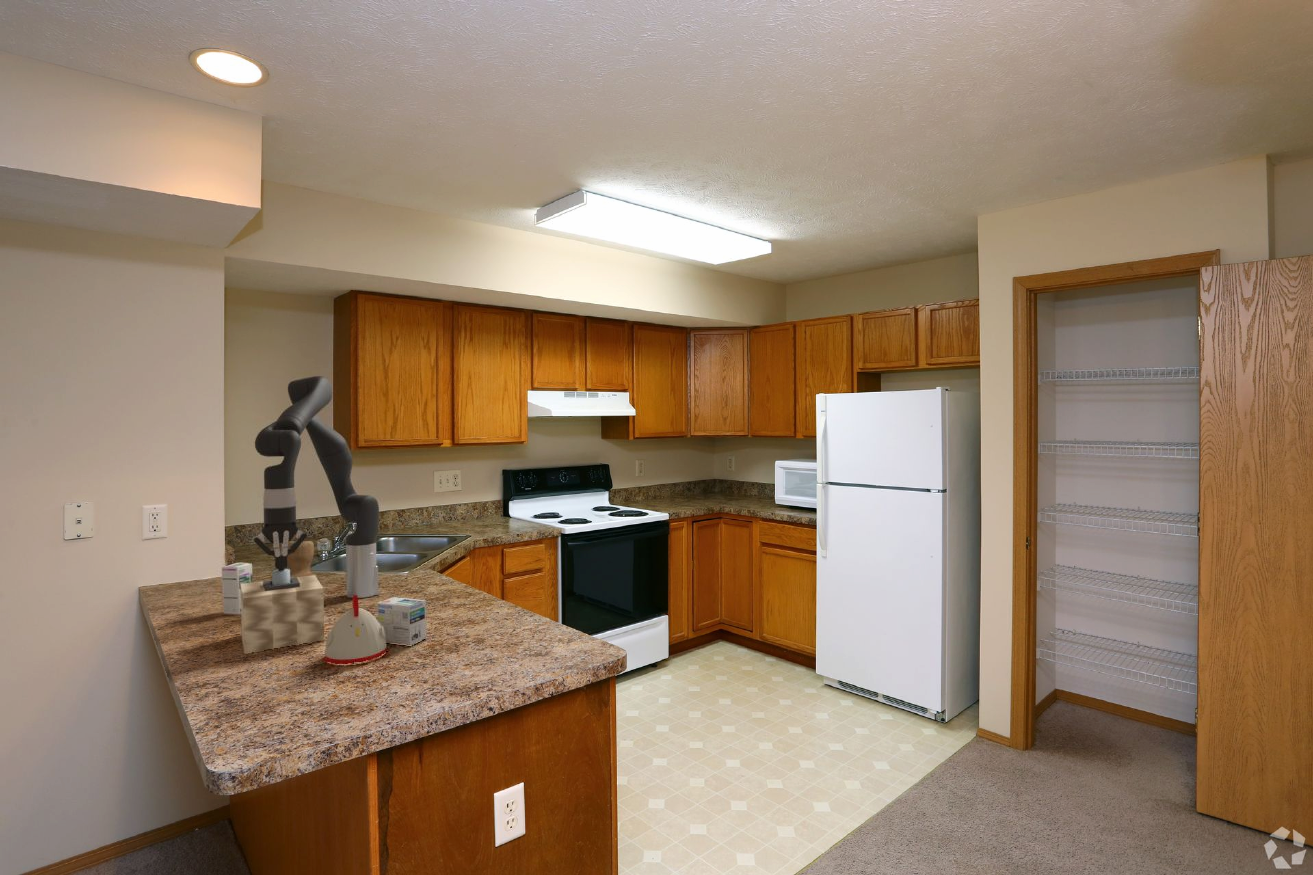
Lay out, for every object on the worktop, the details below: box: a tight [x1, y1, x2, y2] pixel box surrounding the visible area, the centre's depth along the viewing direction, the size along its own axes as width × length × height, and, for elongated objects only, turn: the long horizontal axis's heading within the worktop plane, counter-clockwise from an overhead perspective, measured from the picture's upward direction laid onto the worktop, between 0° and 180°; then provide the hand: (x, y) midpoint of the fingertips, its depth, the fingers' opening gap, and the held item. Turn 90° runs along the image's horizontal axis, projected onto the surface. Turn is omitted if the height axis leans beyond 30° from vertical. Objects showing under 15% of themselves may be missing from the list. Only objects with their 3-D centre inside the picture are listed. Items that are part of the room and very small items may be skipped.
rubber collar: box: [262, 577, 300, 591], centre depth 181 cm, size 8×8×1 cm
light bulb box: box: [376, 596, 427, 645], centre depth 178 cm, size 11×7×11 cm, turn 71°
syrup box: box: [221, 562, 254, 616], centre depth 206 cm, size 6×6×14 cm
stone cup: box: [269, 540, 318, 580], centre depth 244 cm, size 15×12×15 cm
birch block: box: [240, 575, 325, 655], centre depth 181 cm, size 18×18×14 cm
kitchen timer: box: [324, 595, 388, 664], centre depth 167 cm, size 14×14×15 cm
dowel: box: [271, 569, 290, 585], centre depth 181 cm, size 4×4×12 cm
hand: (281, 569), depth 181 cm, fingers closed
